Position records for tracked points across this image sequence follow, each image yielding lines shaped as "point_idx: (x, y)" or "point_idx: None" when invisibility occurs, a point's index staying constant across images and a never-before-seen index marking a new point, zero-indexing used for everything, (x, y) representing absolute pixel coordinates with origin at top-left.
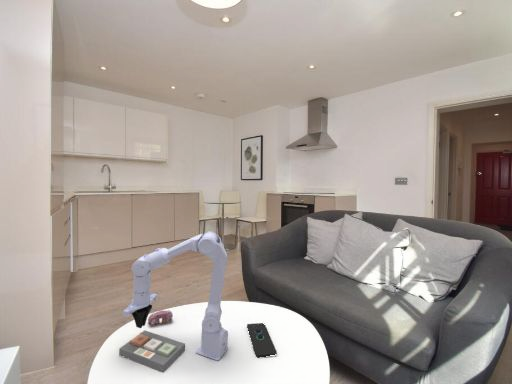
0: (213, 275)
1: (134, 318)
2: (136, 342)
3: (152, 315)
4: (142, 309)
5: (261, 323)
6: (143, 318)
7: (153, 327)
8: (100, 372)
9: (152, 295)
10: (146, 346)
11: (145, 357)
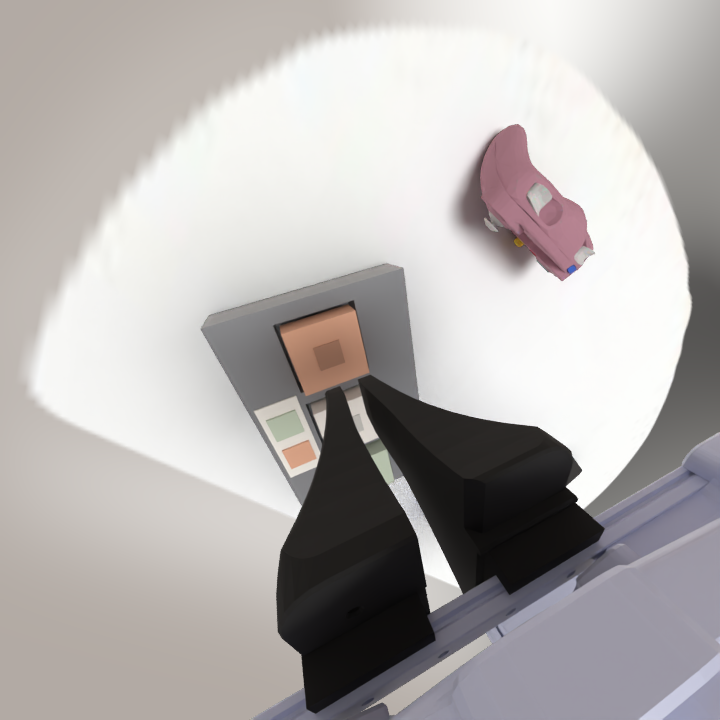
0: None
1: (324, 453)
2: (297, 372)
3: (524, 202)
4: (448, 524)
5: (579, 469)
6: (394, 451)
7: (462, 226)
8: (71, 377)
9: None
10: (318, 426)
11: (282, 463)
